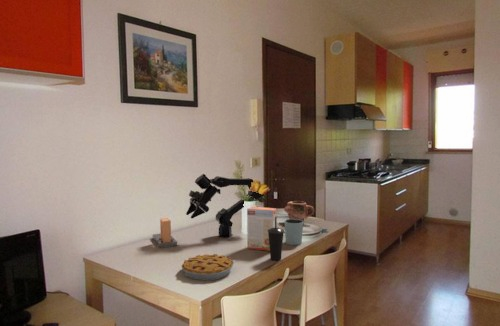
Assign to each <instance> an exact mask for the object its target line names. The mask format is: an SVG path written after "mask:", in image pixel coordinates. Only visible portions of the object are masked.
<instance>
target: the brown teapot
mask: <svg viewBox="0 0 500 326" xmlns="http://www.w3.org/2000/svg"><path fill="white" fill-rule="evenodd" d="M310 209H311V213H310V214H308V213H309V212H308V210H310ZM283 210H284V212H285V213H287V215H288V219H300V220H303V222H304V223H305V219H308V218H309V217H311V216H312V215H313V214H314V213H315V208H314V207H313V206H312V205H308V204H307V203H306V202H305V201H302V200H294V201H288V202H287V204H286V206H285V207H284V209H283Z"/></svg>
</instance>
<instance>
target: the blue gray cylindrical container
mask: <svg viewBox="0 0 500 326" xmlns="http://www.w3.org/2000/svg"><path fill="white" fill-rule="evenodd" d="M304 224H305V221H304V222H303V220H300V219H289V218H286V219H284V233H285V235H284V236H285V244H286V245H290V246H299V245H301V244H302V241H303V231H304Z"/></svg>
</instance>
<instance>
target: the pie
mask: <svg viewBox="0 0 500 326" xmlns="http://www.w3.org/2000/svg"><path fill="white" fill-rule="evenodd" d="M234 264H235V263H234V262H233V260H232V259H231V257H229V256H227V257H226V255H222V254H221V255H218V254H216V253H214V254H203V255H200V254H198V255H195V256H193V257H188V259H184V261H183V263H182V264H181V269H182V271H183V273H184V274H185V276H186V275H187V276H186V277H188V276H189V277H188V278H190V279H195V280H200V281H212V280H214V281H215V280H218V279H221V278H225V276H227V275H229V273H230V271H231V270H232V268H233V267H234Z"/></svg>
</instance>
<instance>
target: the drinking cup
mask: <svg viewBox="0 0 500 326" xmlns="http://www.w3.org/2000/svg"><path fill="white" fill-rule="evenodd" d="M277 221H278V219H277V216H276V217H275V227H274V228H271V229H268V236H269V246H270V251H269V256H270V260H271V261H273V262H279V261H281V260H282V254H283V253H282V252H283V243H284V242H283V241H284V233H285V229H282V228H280V227H277V225H278V224H277V223H278V222H277Z"/></svg>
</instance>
